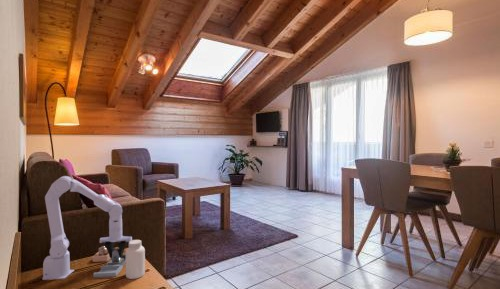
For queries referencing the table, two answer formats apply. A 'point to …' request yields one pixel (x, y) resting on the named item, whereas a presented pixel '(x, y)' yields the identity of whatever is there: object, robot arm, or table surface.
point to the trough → (108, 271)
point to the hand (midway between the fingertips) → (116, 256)
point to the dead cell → (103, 251)
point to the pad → (116, 262)
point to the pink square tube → (100, 257)
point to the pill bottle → (135, 260)
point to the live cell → (115, 254)
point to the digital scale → (118, 264)
